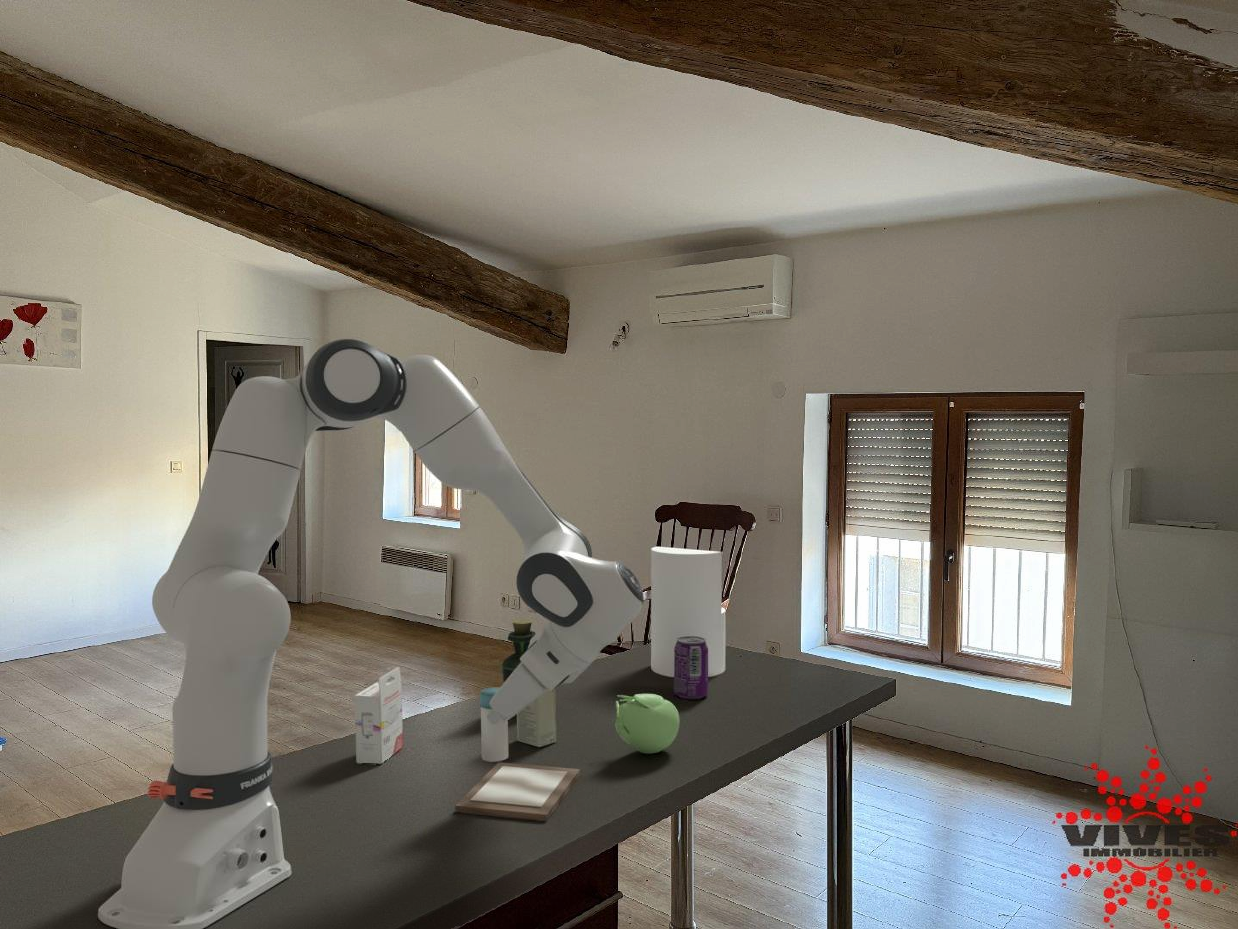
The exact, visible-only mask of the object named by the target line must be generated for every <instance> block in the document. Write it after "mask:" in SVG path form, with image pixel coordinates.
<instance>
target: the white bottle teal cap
mask: <svg viewBox="0 0 1238 929" xmlns="http://www.w3.org/2000/svg"><path fill="white" fill-rule="evenodd" d="M500 687H501V686H500ZM500 687H497V686H496V687H495V686H494V687H487V688H484V689H480V691H479V706H480V733H481V738H480V740H481V743H480V744H481V759H482V760H483V761H485V762H493V763H495V762H503V761H504V760H506V759H508V758H509V721H508V720H507V721H504V720H503V719H500V720H499V721H498V722H497V723H496V724H492V723H491V722H490V721H489V720H488V719H487V715H488V714H489V713H490V712H491V711H492V710H493V709H492V708H491V706H490V701H491V699H492V698H493V696H494V695H495V693H496V692H497V691H498V690H499V688H500Z"/></svg>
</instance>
